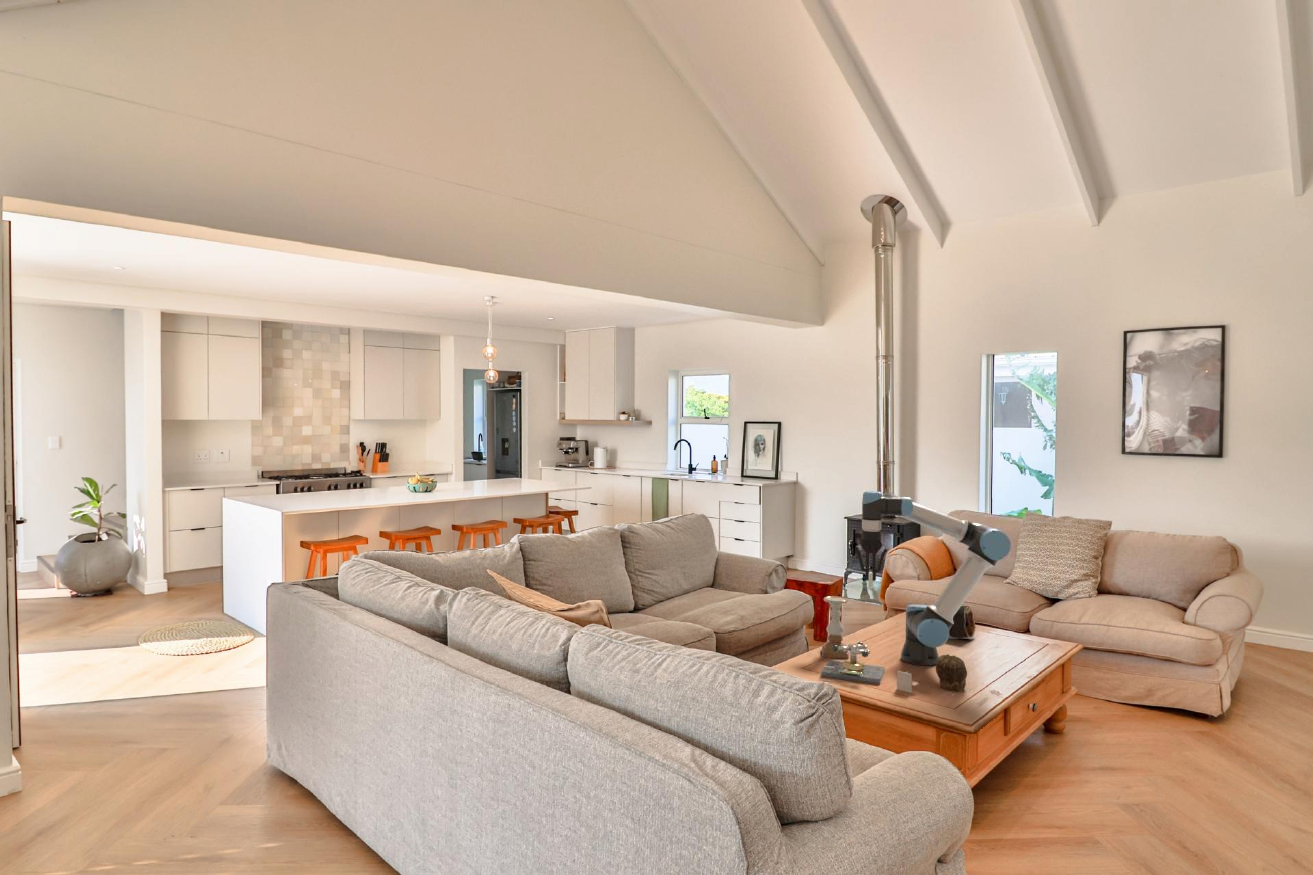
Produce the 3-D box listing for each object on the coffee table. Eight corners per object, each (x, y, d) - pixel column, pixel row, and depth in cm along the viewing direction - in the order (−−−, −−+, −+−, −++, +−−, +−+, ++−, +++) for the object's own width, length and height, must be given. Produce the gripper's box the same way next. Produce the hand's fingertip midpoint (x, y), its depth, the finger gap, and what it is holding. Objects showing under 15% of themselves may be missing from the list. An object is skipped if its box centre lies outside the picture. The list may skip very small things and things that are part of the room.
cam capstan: (830, 662, 316) (830, 640, 316) (865, 663, 314) (865, 641, 314) (834, 673, 301) (834, 650, 301) (871, 675, 300) (871, 652, 300)
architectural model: (900, 688, 294) (901, 668, 294) (918, 692, 289) (918, 672, 289) (896, 690, 291) (896, 670, 291) (914, 695, 287) (914, 674, 286)
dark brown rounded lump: (930, 683, 298) (931, 652, 298) (958, 682, 299) (958, 651, 299) (943, 693, 287) (943, 660, 287) (972, 692, 288) (972, 660, 288)
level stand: (884, 671, 311) (884, 661, 311) (879, 684, 296) (880, 673, 296) (828, 664, 319) (828, 655, 319) (821, 676, 304) (821, 666, 304)
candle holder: (848, 658, 328) (849, 602, 327) (822, 657, 330) (822, 600, 329) (847, 651, 338) (848, 596, 338) (821, 649, 340) (822, 595, 340)
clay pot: (918, 602, 379) (971, 600, 364) (925, 633, 379) (978, 632, 364) (908, 612, 367) (962, 610, 352) (915, 644, 367) (970, 643, 352)
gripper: (889, 529, 315) (888, 588, 315) (856, 527, 320) (855, 585, 320) (887, 532, 308) (886, 591, 308) (853, 530, 313) (852, 589, 313)
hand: (870, 588), depth 314 cm, fingers closed
